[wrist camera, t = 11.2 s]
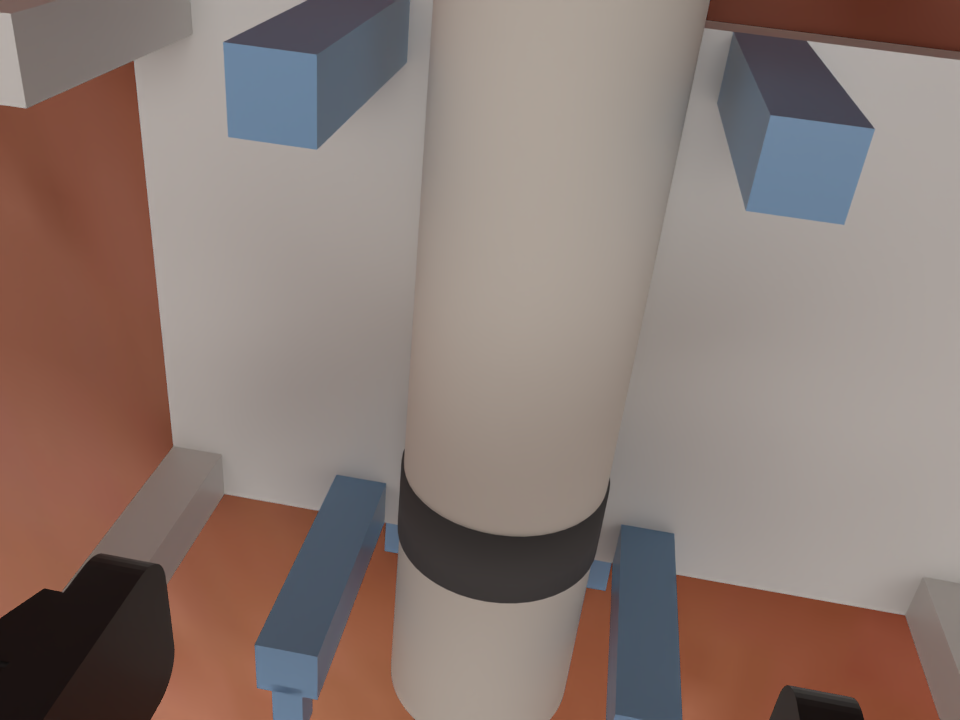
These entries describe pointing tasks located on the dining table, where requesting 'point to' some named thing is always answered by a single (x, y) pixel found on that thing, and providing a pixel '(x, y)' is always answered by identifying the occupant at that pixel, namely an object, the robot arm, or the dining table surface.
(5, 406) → the dining table surface
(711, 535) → the white pegged rack
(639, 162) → the banded cream tube
